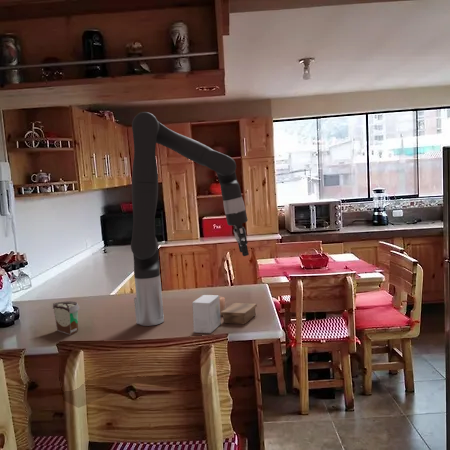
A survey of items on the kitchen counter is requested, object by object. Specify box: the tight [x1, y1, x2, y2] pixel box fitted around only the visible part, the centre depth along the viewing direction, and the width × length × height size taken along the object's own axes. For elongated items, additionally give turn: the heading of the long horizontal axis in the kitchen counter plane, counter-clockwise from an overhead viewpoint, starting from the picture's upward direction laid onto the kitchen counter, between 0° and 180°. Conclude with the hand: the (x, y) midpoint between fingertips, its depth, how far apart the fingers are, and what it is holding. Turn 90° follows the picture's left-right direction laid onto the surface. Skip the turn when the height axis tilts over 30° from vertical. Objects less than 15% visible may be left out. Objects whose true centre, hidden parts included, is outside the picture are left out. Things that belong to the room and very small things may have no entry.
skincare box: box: [191, 294, 222, 334], centre depth 166 cm, size 10×6×10 cm, turn 161°
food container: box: [52, 300, 80, 336], centre depth 175 cm, size 12×6×10 cm, turn 48°
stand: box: [221, 302, 258, 325], centre depth 175 cm, size 9×12×4 cm
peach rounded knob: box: [219, 296, 226, 317], centre depth 182 cm, size 5×5×6 cm
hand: (244, 253), depth 179 cm, fingers open, 8 cm apart
